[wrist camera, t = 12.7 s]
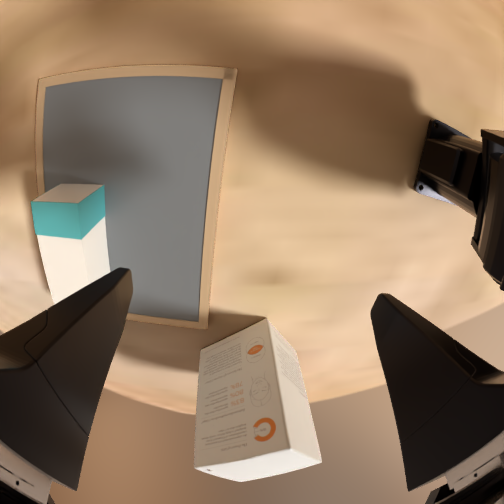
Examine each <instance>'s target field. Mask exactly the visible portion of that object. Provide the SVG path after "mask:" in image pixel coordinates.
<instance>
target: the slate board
mask: <svg viewBox="0 0 504 504" xmlns="http://www.w3.org/2000/svg"><path fill="white" fill-rule="evenodd" d="M237 71H238V69H234V68H224V67H213V66H198V65H132V66H118V67H107V68H98V69H90V70H83V71H77V72H71V73H65V74H60V75H55V76H50V77H46V78H41V79H39V84H38V93H37V105H36V125H35V155H36V176H37V188H38V197H39V196H40V195H42V194H44V193H45V192H47V191H49V190H50V189H52V188H54V187H56V186H57V185H59V184H95V185H104V191H105V215H106V216H105V224H106V237H107V247H108V257H109V265H110V272H111V271H113V270H115V269H117V268H119V267H123V268H129V269H130V270H131V273H132V282H133V295H132V299H131V302H130V306H129V310H128V313H127V317H126V320H133V321H139V322H146V323H153V324H161V325H169V326H177V327H186V328H195V329H206V330H207V327H208V314H209V301H210V288H211V276H212V265H213V255H214V244H215V234H216V225H217V216H218V207H219V198H220V189H221V181H222V173H223V165H224V157H225V150H226V143H227V135H228V128H229V121H230V115H231V108H232V102H233V95H234V89H235V83H236V77H237Z"/></svg>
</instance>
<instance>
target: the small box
mask: <svg viewBox="0 0 504 504" xmlns="http://www.w3.org/2000/svg"><path fill="white" fill-rule="evenodd" d="M194 453H195V454H194V468H195V469H198V470H200V471H203V472H205V473H208V474H212V475H215V476H218V477H222V478H226V479H230V480H234V481H239V482H243V481H248V480H254V479H259V478H264V477H269V476H274V475H278V474H282V473H286V472H290V471H294V470H298V469H301V468H305V467H308V466H311V465H315V464H318V463H321V462H322V459H321V454H320V450H319V445H318V441H317V436H316V432H315V428H314V424H313V420H312V415H311V411H310V406H309V402H308V398H307V394H306V389H305V385H304V381H303V377H302V373H301V369H300V365H299V361H298V357H297V353H296V351H295V349H294V348H293V347H292V346H291V345H290V344H289V343H288V341H287V340H286V339H285V338H284V337H283V336H282V335H281V334H280V332H279V331H278V330H277V329H276V328H275V327H274V325H273V324H272V323H271V322H270V321H269V320H268V319H267V318H265V319H263V320H262V321H260V322H258V323H256V324H254V325H252V326H250V327H248V328H246V329H244V330H242V331H239V332H237V333H235V334H233V335H231V336H229V337H227V338H225V339H223V340H221V341H219V342H217V343H214V344H212V345H210V346H208V347H206V348H204V349H201V350H200V363H199V376H198V391H197V408H196V427H195V451H194Z"/></svg>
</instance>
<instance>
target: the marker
mask: <svg viewBox="0 0 504 504" xmlns="http://www.w3.org/2000/svg"><path fill="white" fill-rule="evenodd" d="M31 208H32V215H33V222H34V228H35V234H36V235H37V237H38V243H39V248H40V252H41V257H42V262H43V266H44V270H45V274H46V278H47V281H48V285H49V289H50V292H51V296H52V299H53V302H54V305H55V304H56V303H58V302H60V301H61V300H63V299H65V298H66V297H68V296H70V295H71V294H73V293H75V292H76V291H78V290H80V289H82V288H83V287H85V286H87V285H89V284H90V283H92V282H94V281H95V280H97V279H99V278H101V277H103V276H104V275H106V274H108V273H110V265H109V257H108V247H107V237H106V224H105V216H106V215H105V191H104V185H95V184H59V185H57V186H56V187H54V188H52V189H50V190H49V191H47V192H45V193H44V194H42V195H40V196H39V197H37V198H36V199H34V200H32V201H31Z"/></svg>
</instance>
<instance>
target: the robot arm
mask: <svg viewBox="0 0 504 504" xmlns="http://www.w3.org/2000/svg"><path fill="white" fill-rule="evenodd" d="M434 124H436V126H435V127H434ZM481 137H482V142H480V141H476V140H473V139H471V138H469V137H468V136H466V135H464V134H462V133H461V132H459V131H457V130H455V129H454V128H452V127H450V126H448V125H446V124H444V123H442V122H440V121H439V120H436V119H431V120H430V122H429V127H428V131H427V136H426V141H425V145H424V149H423V154H422V158H421V162H420V166H419V169H418V173H417V177H416V180H415V184H414V190H415V191H416V192H418V193H419V194H423V195H426V196H429V197H432V198H436V199H439V200H442V201H445V202H448V203H451V204H454V205H457V206H459V207H460V208H462V209H464V210H465V211H467V212H468V213H470V214H471V215H473V216H474V217H476V218H477V219H476V225H475V231H474V236H473V237H472V241H471V245H472V246H473V248H474V249H475V251H476V253H477V254H478V256H479V257H480V259H481V260H482V262H483V268H484V269H485V271H486V272H487V273H488V274H489V275H490V276H491V277H492V278H493V280H494V281H495V282H496V283H497V284H499V285H500V289H501V290H503V291H504V131H499V130H488V129H481ZM420 185H421V187H420V189H419V186H420ZM132 295H133V282H132V273H131V270H130V269H129V268H123V267H119V268H117V269H115V270H113V271H111V272H110V273H108V274H106V275H104V276H103V277H101V278H99V279H97V280H95V281H94V282H92V283H90V284H89V285H87V286H85V287H83V288H82V289H80V290H78V291H76V292H75V293H73V294H71V295H70V296H68V297H66V298H65V299H63V300H61V301H60V302H58V303H56V304H55V305H53V306H51V307H50V308H48V310H45V311H43V312H42V313H40V314H38V315H37V316H35V317H33V318H32V319H30V320H28V321H26V322H25V323H23V324H21V325H19V326H17V327H15V328H14V329H12V330H10V331H8V332H6V333H4V334H2V335H0V504H55V503H54V501H53V500H52V498H51V496H50V494H49V490H50V486H51V482H52V481H54V482H56V483H58V484H61V485H63V486H65V487H68V488H70V489H72V490H75V491H77V488H78V483H79V478H80V473H81V468H82V463H83V459H84V455H85V450H86V446H87V442H88V438H89V437H88V436H89V433H90V430H91V426H92V423H93V419H94V415H95V412H96V409H97V405H98V402H99V399H100V396H101V392H102V389H103V386H104V383H105V380H106V377H107V374H108V371H109V368H110V365H111V362H112V359H113V357H114V354H115V351H116V348H117V346H118V343H119V340H120V337H121V335H122V332H123V329H124V325H125V321H126V317H127V313H128V310H129V306H130V302H131V299H132ZM371 320H372V325H373V330H374V335H375V340H376V345H377V350H378V354H379V357H380V361H381V364H382V368H383V371H384V375H385V379H386V383H387V386H388V390H389V394H390V398H391V402H392V407H393V411H394V415H395V420H396V425H397V429H398V434H399V439H400V443H401V444H400V445H401V450H402V456H403V462H404V468H405V475H406V482H407V488H408V491H412V490H414V489H416V488H419V487H421V486H423V485H426V484H428V483H430V482H433V481H435V480H437V479H439V478H441V477H443V476H446V479H447V484H445V485H443V486H441V487H439V488H437V489H435V490H433V491H432V492H431V493H430V495H429V497H428V499H427V501H426V503H425V504H504V372H503V371H500V370H498V369H497V368H495V367H494V366H492V365H491V364H489V363H488V362H486V361H485V360H483V359H482V358H480V357H479V356H477V355H476V354H474V353H473V352H471V351H470V350H468V349H467V348H466V347H464V346H463V345H461V344H460V343H459V342H457V341H456V340H453V338H452V337H450V336H449V335H447V334H446V333H445V332H443V331H442V330H441V329H439V328H438V327H437V326H435V325H434V324H432V323H431V322H429V321H428V320H427V319H425V318H424V317H422V316H421V315H420V314H418V313H417V312H415V311H414V310H412V309H411V308H409V307H408V306H407V305H405V304H404V303H402V302H401V301H399V300H398V299H396V298H395V297H393V296H392V295H390V294H386V293H381V294H379V295H378V296H377V299H376V301H375V303H374V305H373V307H372V309H371Z"/></svg>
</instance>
